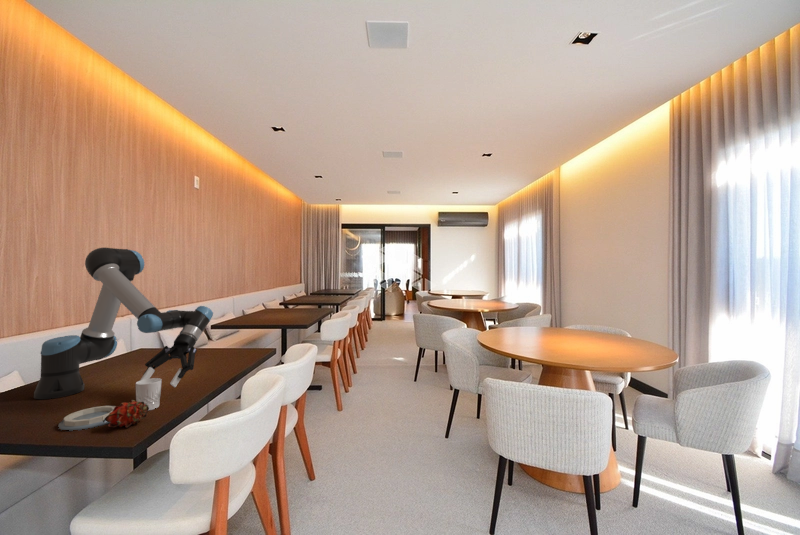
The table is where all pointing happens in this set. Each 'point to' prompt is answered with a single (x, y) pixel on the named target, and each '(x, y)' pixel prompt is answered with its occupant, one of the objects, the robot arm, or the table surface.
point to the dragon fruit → (127, 414)
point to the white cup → (149, 392)
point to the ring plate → (86, 418)
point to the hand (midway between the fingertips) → (156, 384)
